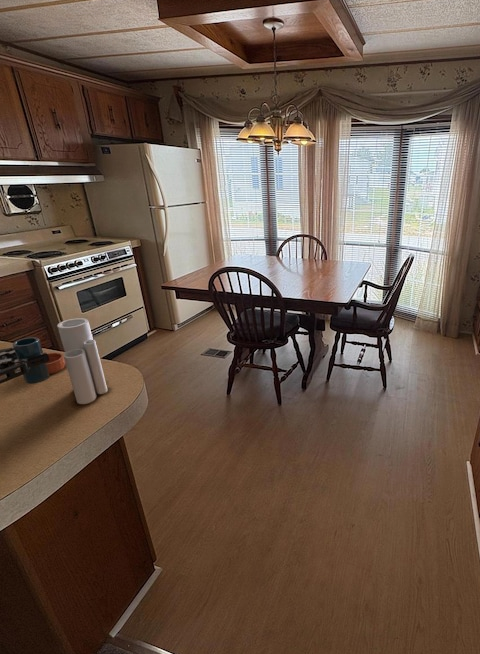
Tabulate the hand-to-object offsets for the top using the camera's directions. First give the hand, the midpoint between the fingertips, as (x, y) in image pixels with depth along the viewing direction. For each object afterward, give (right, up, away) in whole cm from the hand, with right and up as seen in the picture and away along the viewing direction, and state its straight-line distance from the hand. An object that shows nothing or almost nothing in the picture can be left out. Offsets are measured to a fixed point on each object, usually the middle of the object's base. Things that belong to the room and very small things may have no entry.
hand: (44, 353), depth 82 cm
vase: (+3, -12, +13) cm, 18 cm away
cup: (-2, -6, 0) cm, 7 cm away
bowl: (-17, -7, +23) cm, 30 cm away
